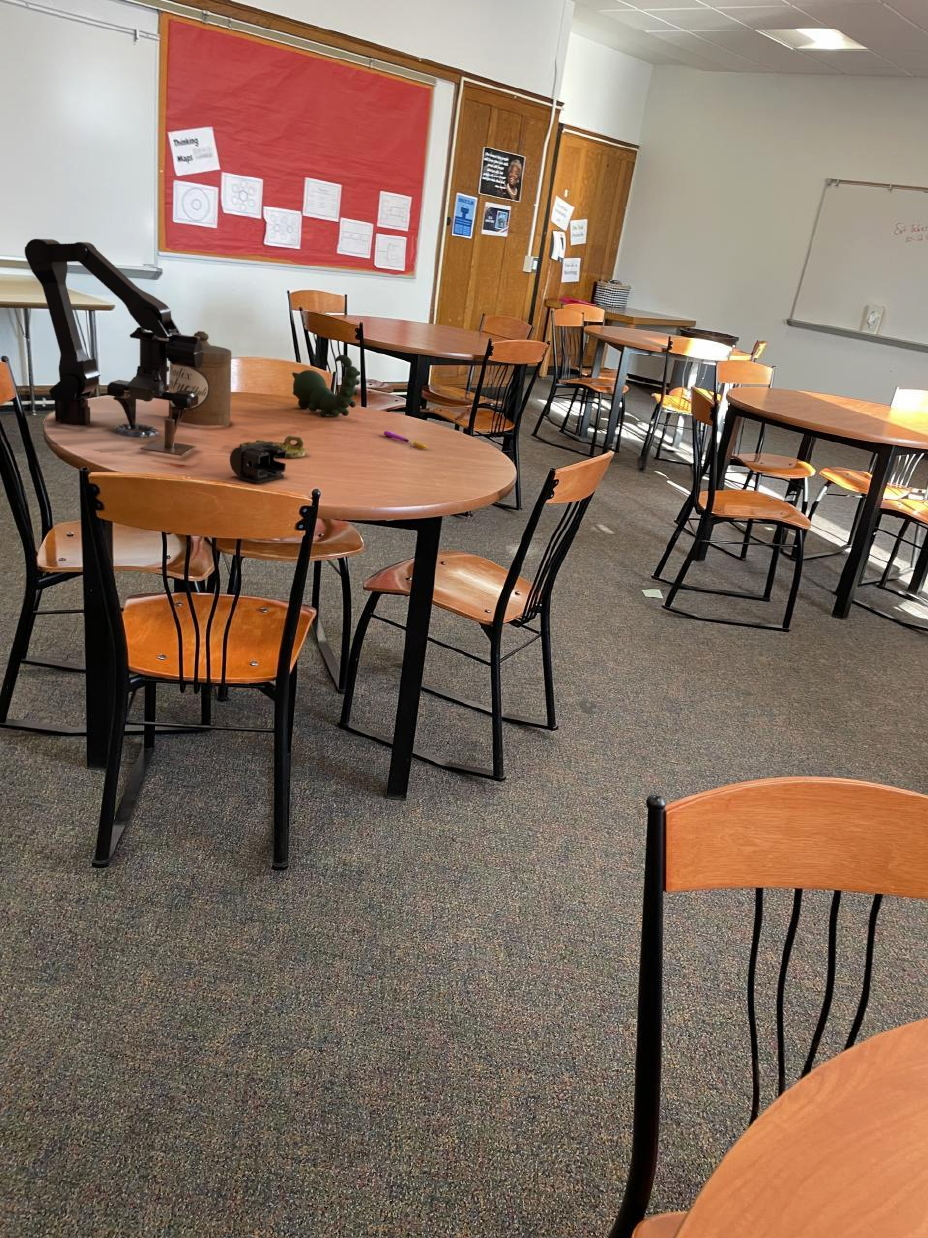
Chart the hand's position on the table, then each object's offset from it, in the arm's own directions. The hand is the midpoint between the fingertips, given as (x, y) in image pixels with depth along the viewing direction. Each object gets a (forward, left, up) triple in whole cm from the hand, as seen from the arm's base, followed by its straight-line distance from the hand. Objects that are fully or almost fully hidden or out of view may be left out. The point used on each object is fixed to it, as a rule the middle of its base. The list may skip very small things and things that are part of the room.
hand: (152, 432), depth 203 cm
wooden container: (+2, +24, -2) cm, 24 cm away
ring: (-4, 0, -1) cm, 4 cm away
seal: (+26, +5, -2) cm, 27 cm away
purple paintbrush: (+53, +39, -2) cm, 66 cm away
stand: (+7, -9, -2) cm, 12 cm away
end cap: (+29, -17, -2) cm, 34 cm away
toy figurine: (+25, +59, -2) cm, 64 cm away
